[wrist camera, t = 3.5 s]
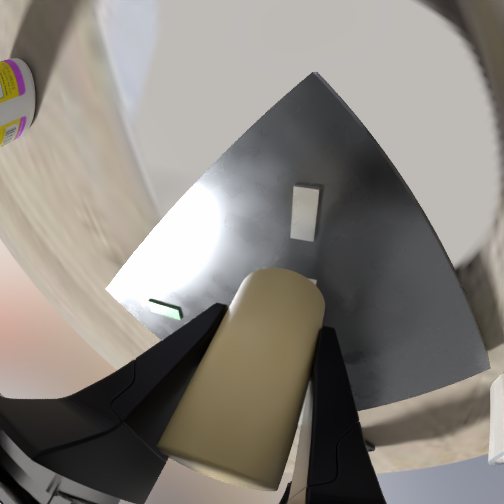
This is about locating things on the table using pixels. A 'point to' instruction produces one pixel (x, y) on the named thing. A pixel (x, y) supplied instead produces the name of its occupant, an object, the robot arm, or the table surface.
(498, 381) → the shot glass
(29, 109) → the supplement bottle
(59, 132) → the table surface
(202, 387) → the beige rounded piece
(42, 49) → the table surface
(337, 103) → the base
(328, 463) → the robot arm
